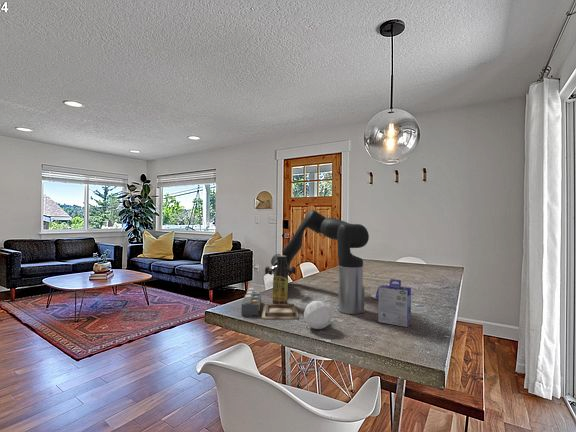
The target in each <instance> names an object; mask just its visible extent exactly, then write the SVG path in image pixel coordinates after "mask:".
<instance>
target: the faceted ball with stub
mask: <svg viewBox="0 0 576 432" xmlns="http://www.w3.org/2000/svg"><path fill="white" fill-rule="evenodd" d="M303 316H304V320H305V323H306V324H307V325H308V327H310V328H312V329H314V330H315V329H316V330H323V329H324V328H326V327H328V326H329V325H330V323H331V320H332V317H333V314H332V312H331V309H330V306H329V305H328V304H327V303H326V302H324V301H323V300H313V301H311V302H310V303H308V304H307V305H306V307H305V309H304V312H303Z"/></svg>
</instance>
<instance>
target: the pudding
mask: <svg viewBox="0 0 576 432" xmlns="http://www.w3.org/2000/svg"><path fill="white" fill-rule="evenodd" d="M380 286H381V285H379V286H378V287H377V290H376V293H374V294H371V295H370V297H371V298H372V299H375V300H379V287H380Z"/></svg>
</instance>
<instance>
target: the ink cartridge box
mask: <svg viewBox="0 0 576 432" xmlns="http://www.w3.org/2000/svg"><path fill="white" fill-rule="evenodd" d="M393 282H396V283H393ZM401 284H402V280H401V279H394V278H393V279H392V278H391V279H390V281H389V285H387V284H382V285H379V286H380V287H379V286H378V287H379V299H378V303H377V304H378V305H377V306H378V307H377V309H378V312H377V313H378V314H377V315H378V316H377V317H378V318H377V322H378V323H382V324H389V325H393V326H394V325H395V326H398V327H403V328H404V327H405V328H408V327H409V326H410V325H411V324H412V305H411V304H412V297H411V296H412V287H408V286H406V287H405V286H402V285H401Z"/></svg>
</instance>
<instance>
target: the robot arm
mask: <svg viewBox="0 0 576 432" xmlns="http://www.w3.org/2000/svg"><path fill="white" fill-rule="evenodd" d="M307 228H308V229H310V230H311V231H313V232H315V233H317V234H322V235H323V236H324V237H327V238H328V239H331V240H336V243H337V244H336V245H337V259H338V260H337V261H338V291H337V292H338V293H337V294H338V296H337V297H338V300H337V301H338V306H337V307H338V311H339V312H340V313H343V314H350V315H356V314H361V313H362V314H364V313H365V287H364V260H363V259H362V258H361V257H359V256H356V255H354V254H352V252H351V249H358V248H364V247H366V245H367V244H368V242H369V238H370V234H369V231H368V229H367V228H366V227H365V226H364V225H362V224H358V223H349V222H347V221H345V220H340V219H339V218H334V217H326V216H324V215H322V214H321V213H319V212H318V211H316V210H314V209H313V210H309V212H307V214H306V215H305V216H304V217H303V220H302V221H301V223H300V224H299V226H298V228H297V229H296V230H295V233H294V235H292V237H291V239H290V240H289V241H288V243H287V244H286V245H285V247H284V248H283V249H282V254H283V255H284V256H287V259H286V269H287V271H288V276H291V275H297V272H296V271H297V268H296V266H292V267H290V266H291V263H292V261H293V259H294V257H296V255H297V254H298V253H299V251H300V250H301V248H302V246H303V239H304V237H303V236H304V232H305V230H306V229H307ZM278 255H281V254H280V253H276V254H274V255H273V256H272V258H271V260H270V264H271V266H272V267H269V266H265V268H264V274H265V275H268V274H269V275H270V276H272V275H274V271H275V269H276V267H277V256H278Z"/></svg>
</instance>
